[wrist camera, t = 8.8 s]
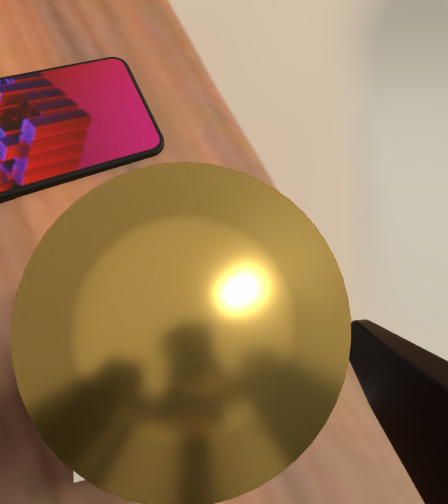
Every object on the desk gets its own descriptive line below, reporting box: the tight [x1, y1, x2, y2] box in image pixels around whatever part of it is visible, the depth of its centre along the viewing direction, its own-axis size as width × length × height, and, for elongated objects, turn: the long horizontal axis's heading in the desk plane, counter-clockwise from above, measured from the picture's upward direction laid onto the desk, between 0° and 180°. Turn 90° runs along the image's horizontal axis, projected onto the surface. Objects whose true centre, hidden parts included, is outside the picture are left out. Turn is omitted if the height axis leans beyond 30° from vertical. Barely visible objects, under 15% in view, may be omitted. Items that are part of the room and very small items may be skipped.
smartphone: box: [0, 57, 164, 202], centre depth 17 cm, size 8×1×15 cm
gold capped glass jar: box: [11, 162, 351, 504], centre depth 10 cm, size 4×4×12 cm
